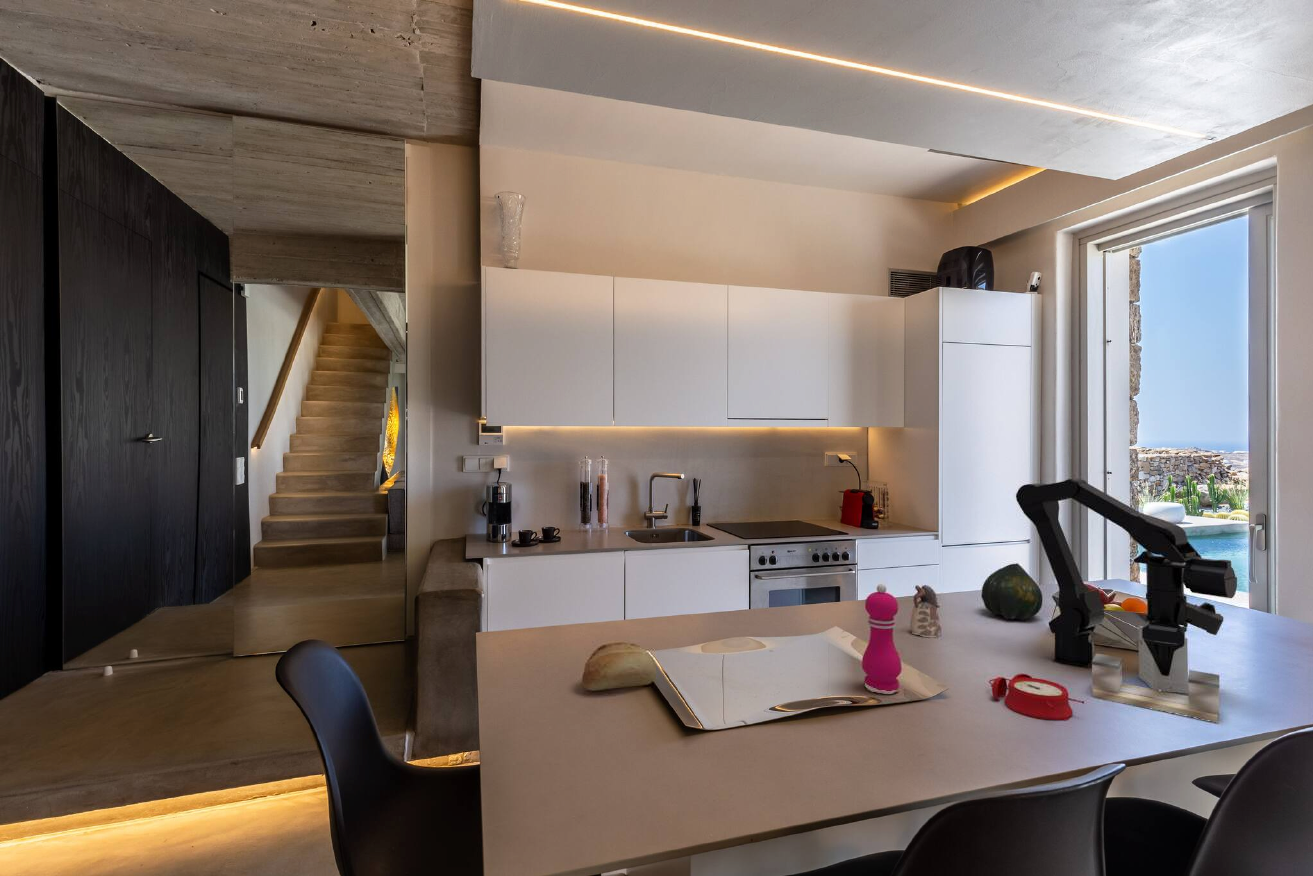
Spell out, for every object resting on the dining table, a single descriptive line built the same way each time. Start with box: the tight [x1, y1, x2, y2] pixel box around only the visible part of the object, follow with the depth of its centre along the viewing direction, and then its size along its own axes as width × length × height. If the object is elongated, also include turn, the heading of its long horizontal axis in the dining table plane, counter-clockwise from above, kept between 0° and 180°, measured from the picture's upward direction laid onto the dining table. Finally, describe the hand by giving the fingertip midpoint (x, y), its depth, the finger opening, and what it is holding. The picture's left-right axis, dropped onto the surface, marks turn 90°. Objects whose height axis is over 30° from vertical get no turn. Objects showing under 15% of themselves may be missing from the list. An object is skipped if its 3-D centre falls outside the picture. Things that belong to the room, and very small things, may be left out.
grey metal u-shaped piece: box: [1091, 653, 1220, 724], centre depth 118 cm, size 18×8×6 cm, turn 49°
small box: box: [1137, 625, 1189, 695], centre depth 127 cm, size 8×6×10 cm
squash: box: [981, 563, 1043, 621], centre depth 178 cm, size 14×15×15 cm
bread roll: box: [581, 641, 657, 692], centre depth 126 cm, size 10×15×8 cm, turn 117°
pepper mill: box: [861, 583, 903, 691], centre depth 125 cm, size 7×7×20 cm
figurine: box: [909, 584, 942, 636], centre depth 161 cm, size 7×7×12 cm
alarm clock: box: [988, 673, 1085, 722], centre depth 118 cm, size 10×6×15 cm
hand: (1166, 669), depth 127 cm, fingers closed on small box, 9 cm apart
